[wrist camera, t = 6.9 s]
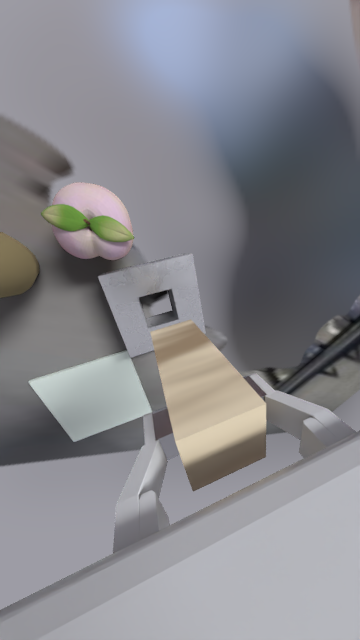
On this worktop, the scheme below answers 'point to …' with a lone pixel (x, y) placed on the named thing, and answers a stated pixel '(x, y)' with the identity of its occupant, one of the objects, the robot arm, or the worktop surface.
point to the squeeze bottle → (16, 267)
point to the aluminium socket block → (147, 280)
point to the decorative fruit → (90, 222)
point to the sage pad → (94, 395)
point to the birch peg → (208, 405)
